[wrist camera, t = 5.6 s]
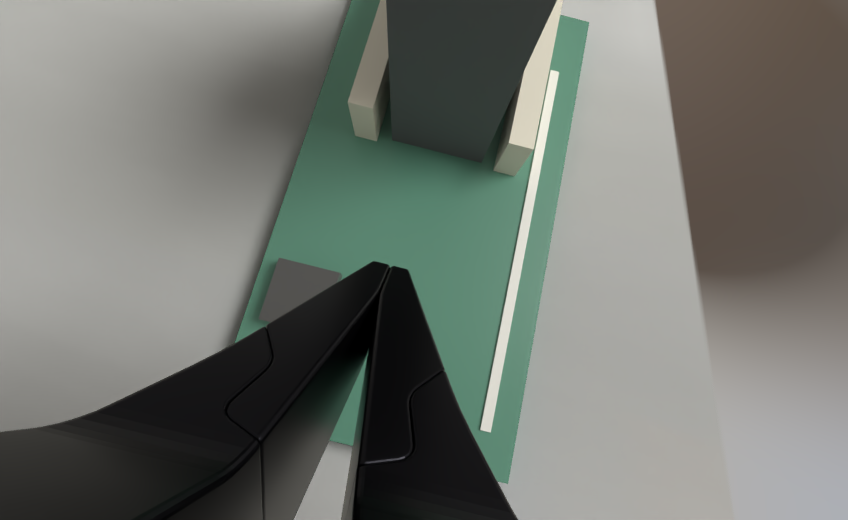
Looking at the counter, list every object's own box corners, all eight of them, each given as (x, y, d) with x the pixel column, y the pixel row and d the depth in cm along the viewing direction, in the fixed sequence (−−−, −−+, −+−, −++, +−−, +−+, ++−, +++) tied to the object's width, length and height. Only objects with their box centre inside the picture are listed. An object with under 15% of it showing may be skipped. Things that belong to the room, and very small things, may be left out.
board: (503, 477, 18) (555, 548, 12) (219, 408, 18) (127, 444, 12) (582, 32, 23) (646, -73, 17) (365, -24, 23) (352, -150, 17)
